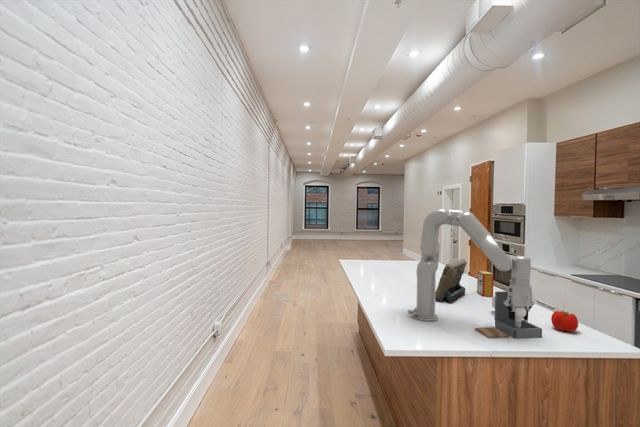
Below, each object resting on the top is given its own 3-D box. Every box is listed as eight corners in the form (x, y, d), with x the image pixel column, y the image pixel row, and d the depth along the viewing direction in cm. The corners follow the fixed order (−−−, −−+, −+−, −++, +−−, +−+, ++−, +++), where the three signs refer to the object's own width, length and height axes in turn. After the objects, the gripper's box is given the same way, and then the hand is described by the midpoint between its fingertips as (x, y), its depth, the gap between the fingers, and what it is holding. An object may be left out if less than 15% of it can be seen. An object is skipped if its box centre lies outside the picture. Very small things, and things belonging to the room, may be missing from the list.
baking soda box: (477, 293, 222) (477, 270, 222) (486, 293, 222) (487, 270, 222) (483, 296, 213) (483, 273, 213) (492, 297, 212) (493, 273, 212)
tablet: (445, 290, 227) (446, 256, 227) (466, 294, 219) (467, 258, 219) (433, 301, 201) (434, 262, 200) (456, 305, 193) (457, 264, 192)
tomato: (545, 325, 160) (546, 309, 160) (567, 326, 160) (568, 309, 160) (561, 334, 150) (561, 316, 149) (584, 334, 149) (585, 316, 149)
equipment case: (514, 338, 143) (515, 299, 143) (494, 327, 157) (495, 291, 157) (542, 337, 145) (543, 298, 145) (519, 326, 159) (520, 290, 159)
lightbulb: (525, 331, 146) (527, 307, 145) (509, 327, 149) (511, 304, 149) (525, 326, 151) (526, 304, 151) (510, 323, 155) (511, 301, 154)
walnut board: (488, 338, 143) (488, 336, 143) (474, 329, 153) (474, 327, 153) (508, 337, 145) (508, 335, 145) (493, 329, 154) (493, 327, 154)
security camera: (507, 317, 172) (508, 299, 172) (494, 316, 174) (494, 298, 173) (503, 313, 178) (504, 296, 178) (490, 312, 180) (490, 295, 180)
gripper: (509, 283, 145) (507, 322, 145) (542, 283, 147) (540, 321, 148) (498, 279, 152) (496, 316, 152) (529, 280, 155) (527, 316, 155)
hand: (518, 318), depth 150 cm, fingers closed on lightbulb, 6 cm apart
